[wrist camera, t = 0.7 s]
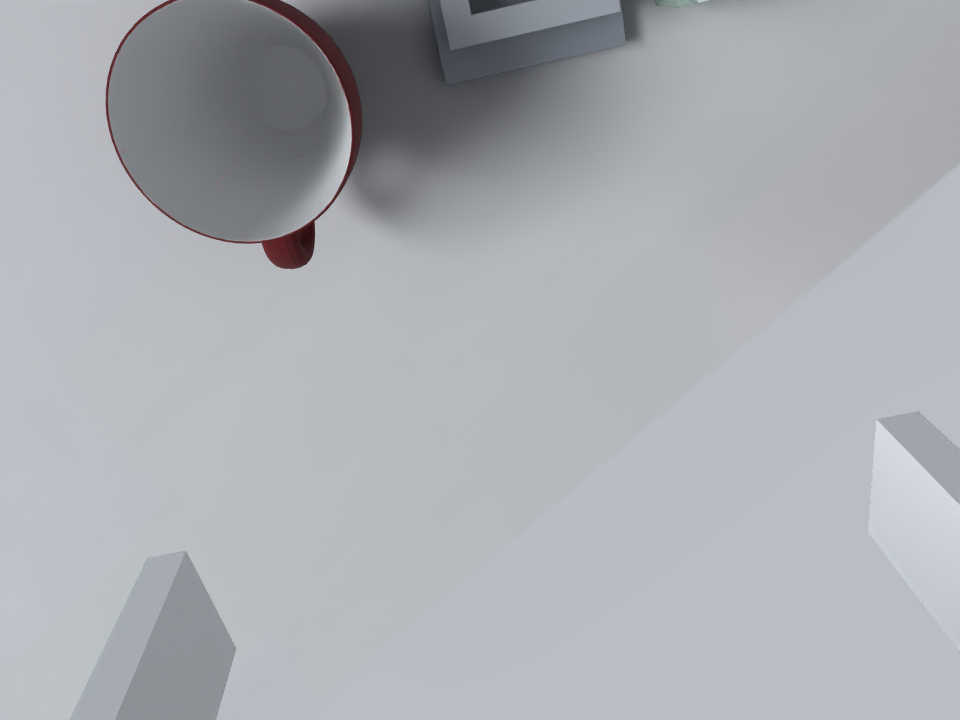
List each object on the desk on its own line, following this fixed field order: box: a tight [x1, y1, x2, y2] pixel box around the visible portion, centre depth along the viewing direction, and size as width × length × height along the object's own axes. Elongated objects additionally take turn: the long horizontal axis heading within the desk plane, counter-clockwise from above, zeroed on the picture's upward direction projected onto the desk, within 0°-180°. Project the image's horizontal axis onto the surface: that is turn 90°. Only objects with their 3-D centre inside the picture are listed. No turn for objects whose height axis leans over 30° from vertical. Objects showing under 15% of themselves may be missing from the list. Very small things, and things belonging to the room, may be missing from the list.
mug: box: [106, 0, 362, 269], centre depth 29 cm, size 11×8×10 cm
